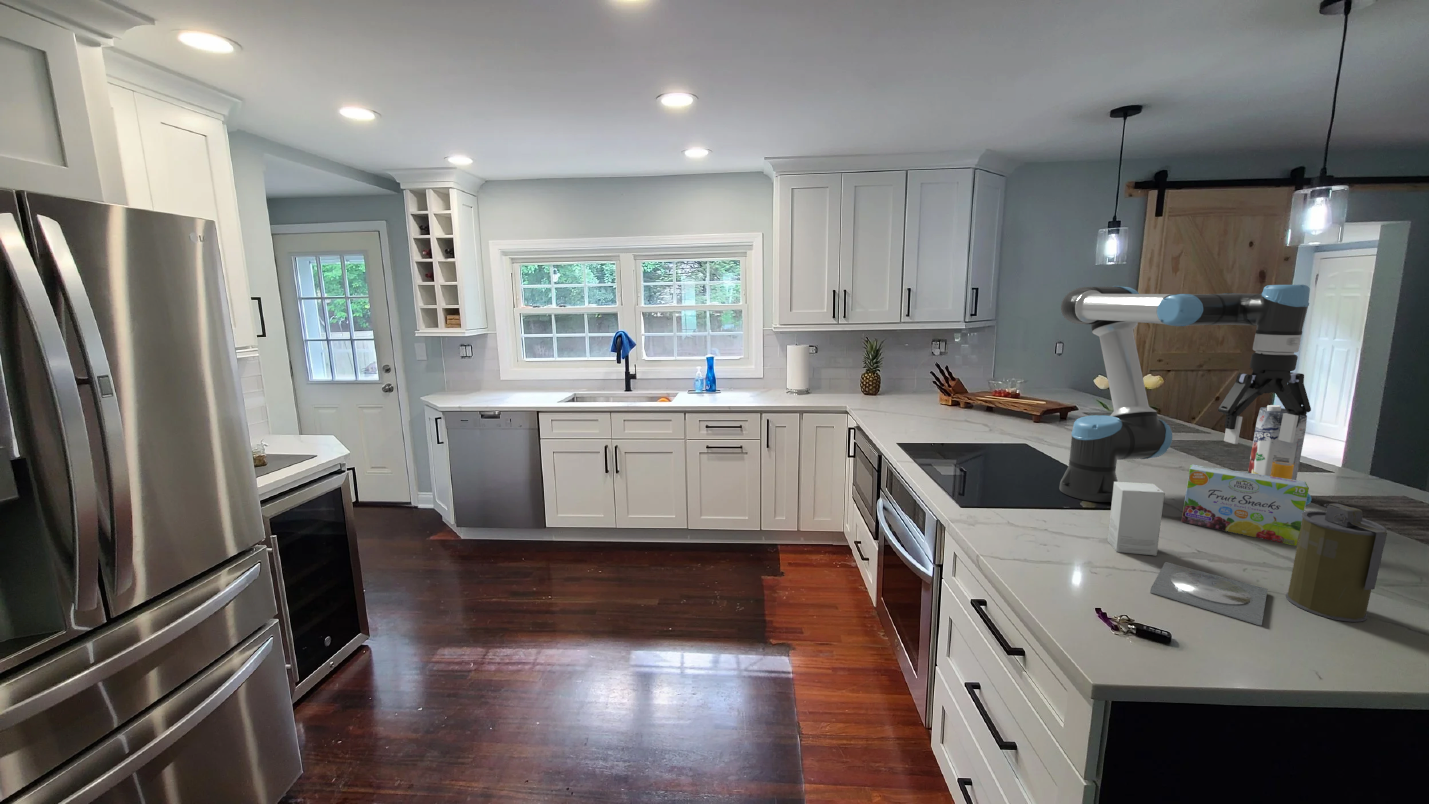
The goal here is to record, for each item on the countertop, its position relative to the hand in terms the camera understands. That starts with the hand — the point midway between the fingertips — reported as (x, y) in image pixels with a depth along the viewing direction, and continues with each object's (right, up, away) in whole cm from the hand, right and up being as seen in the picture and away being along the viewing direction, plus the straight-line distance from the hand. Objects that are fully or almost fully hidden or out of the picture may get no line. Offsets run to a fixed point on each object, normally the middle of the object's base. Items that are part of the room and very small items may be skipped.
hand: (1258, 441), depth 130 cm
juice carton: (+35, -18, +32) cm, 50 cm away
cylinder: (+20, -22, +16) cm, 33 cm away
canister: (-13, -30, -26) cm, 42 cm away
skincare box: (-31, -25, -1) cm, 40 cm away
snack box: (+2, -23, +8) cm, 25 cm away
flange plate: (-30, -29, -21) cm, 47 cm away
